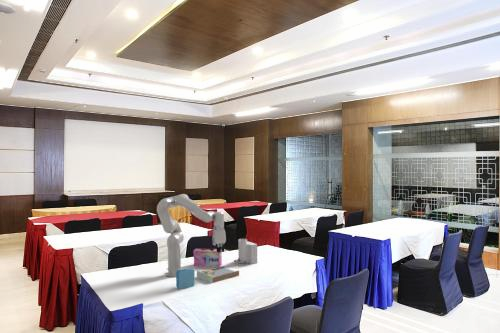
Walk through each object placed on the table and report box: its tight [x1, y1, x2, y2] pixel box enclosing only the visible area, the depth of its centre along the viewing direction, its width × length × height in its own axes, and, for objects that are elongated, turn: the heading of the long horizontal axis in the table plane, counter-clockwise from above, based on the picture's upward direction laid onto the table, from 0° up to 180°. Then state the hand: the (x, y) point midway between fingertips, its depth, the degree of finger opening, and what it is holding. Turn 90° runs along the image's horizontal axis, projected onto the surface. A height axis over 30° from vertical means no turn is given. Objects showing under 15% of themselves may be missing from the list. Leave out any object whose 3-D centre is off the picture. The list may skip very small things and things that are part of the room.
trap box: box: [196, 265, 240, 284], centre depth 266 cm, size 19×26×5 cm
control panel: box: [233, 238, 258, 265], centre depth 303 cm, size 16×19×20 cm
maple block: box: [203, 269, 215, 277], centre depth 259 cm, size 5×6×4 cm
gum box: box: [193, 247, 223, 268], centre depth 296 cm, size 24×8×14 cm, turn 81°
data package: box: [175, 267, 196, 290], centre depth 243 cm, size 12×4×12 cm, turn 127°
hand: (218, 252), depth 267 cm, fingers closed
